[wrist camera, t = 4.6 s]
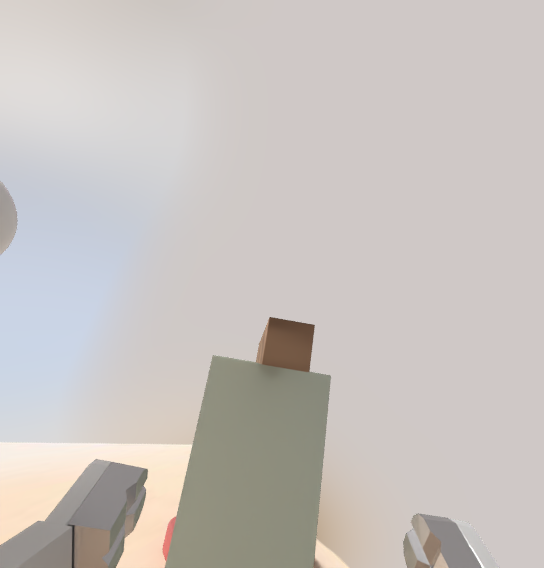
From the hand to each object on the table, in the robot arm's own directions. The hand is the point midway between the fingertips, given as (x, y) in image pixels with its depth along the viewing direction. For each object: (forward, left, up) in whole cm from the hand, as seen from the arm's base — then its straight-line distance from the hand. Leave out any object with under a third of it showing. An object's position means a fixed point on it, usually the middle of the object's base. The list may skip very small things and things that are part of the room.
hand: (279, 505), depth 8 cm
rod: (-11, +10, +4) cm, 16 cm away
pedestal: (-15, +12, -22) cm, 29 cm away
